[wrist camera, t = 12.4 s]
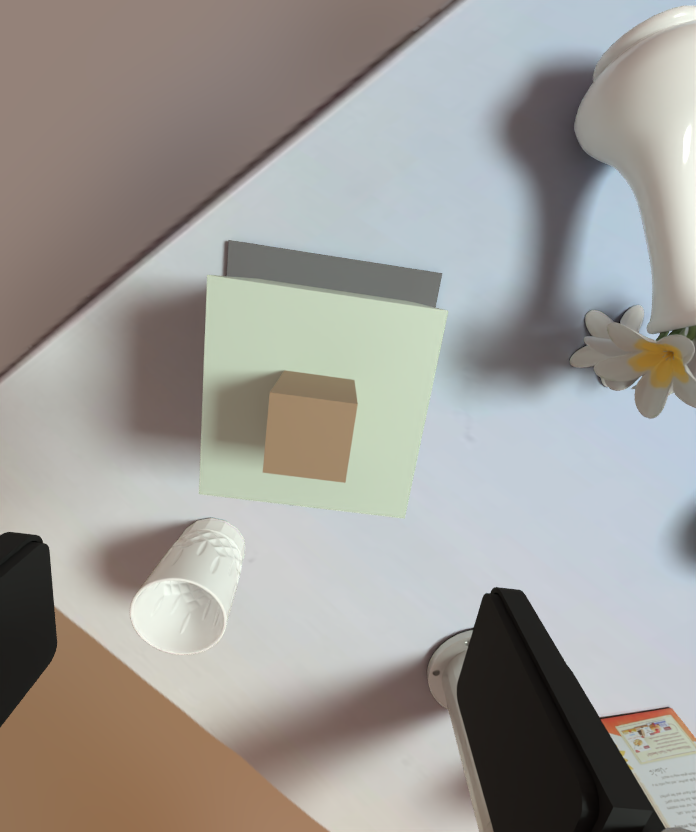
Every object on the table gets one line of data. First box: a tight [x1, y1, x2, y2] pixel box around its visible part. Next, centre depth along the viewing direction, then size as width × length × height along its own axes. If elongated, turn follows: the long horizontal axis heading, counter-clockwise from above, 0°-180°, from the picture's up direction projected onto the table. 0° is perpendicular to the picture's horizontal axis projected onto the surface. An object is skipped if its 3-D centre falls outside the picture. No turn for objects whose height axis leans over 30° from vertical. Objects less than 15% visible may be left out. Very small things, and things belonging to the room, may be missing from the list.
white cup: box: [130, 518, 245, 655], centre depth 39 cm, size 8×8×10 cm
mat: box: [227, 240, 442, 308], centre depth 37 cm, size 18×18×1 cm
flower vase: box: [570, 5, 696, 419], centre depth 29 cm, size 13×18×25 cm
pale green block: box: [199, 275, 448, 518], centre depth 28 cm, size 13×13×19 cm
